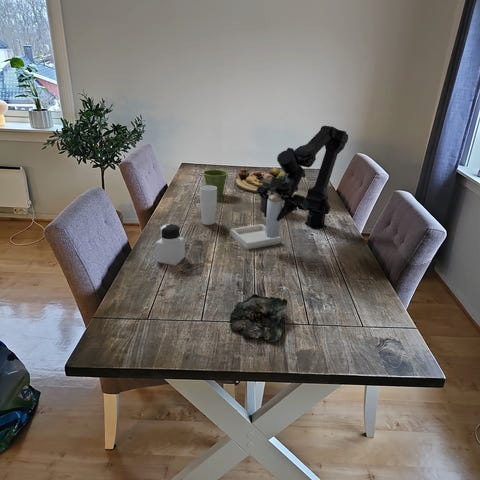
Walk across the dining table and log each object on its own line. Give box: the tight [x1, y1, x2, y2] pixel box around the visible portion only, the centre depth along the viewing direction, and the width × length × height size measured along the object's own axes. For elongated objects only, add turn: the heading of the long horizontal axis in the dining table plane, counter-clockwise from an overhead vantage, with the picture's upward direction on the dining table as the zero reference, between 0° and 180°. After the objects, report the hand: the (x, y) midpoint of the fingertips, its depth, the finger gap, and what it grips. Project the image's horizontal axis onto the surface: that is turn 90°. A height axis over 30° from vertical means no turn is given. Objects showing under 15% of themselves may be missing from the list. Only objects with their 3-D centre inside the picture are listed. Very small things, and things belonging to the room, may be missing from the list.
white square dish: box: [229, 223, 282, 251], centre depth 158 cm, size 14×14×2 cm
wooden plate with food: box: [235, 166, 286, 195], centre depth 221 cm, size 32×32×8 cm
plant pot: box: [202, 169, 229, 198], centre depth 202 cm, size 12×12×11 cm
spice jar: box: [265, 195, 283, 238], centre depth 145 cm, size 5×5×14 cm
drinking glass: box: [199, 184, 218, 226], centre depth 169 cm, size 7×7×15 cm
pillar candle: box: [260, 178, 284, 213], centre depth 185 cm, size 10×10×15 cm
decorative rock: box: [228, 293, 288, 343], centre depth 110 cm, size 19×6×15 cm
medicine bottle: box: [155, 223, 186, 266], centre depth 139 cm, size 7×7×12 cm
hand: (271, 218), depth 144 cm, fingers closed on spice jar, 5 cm apart
